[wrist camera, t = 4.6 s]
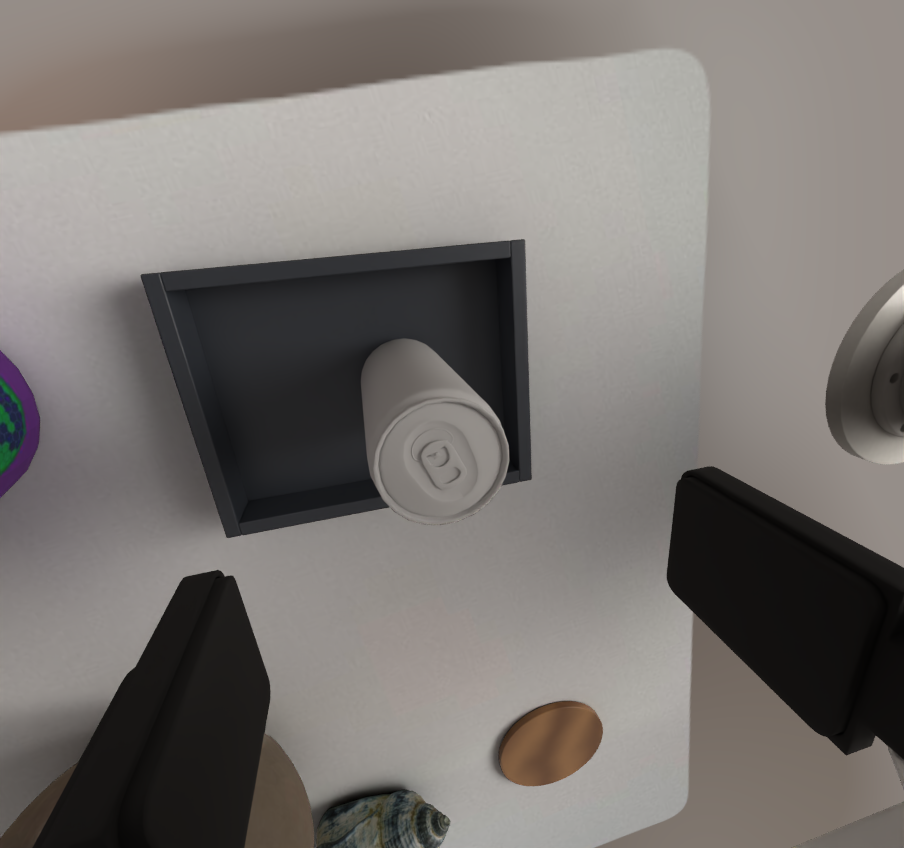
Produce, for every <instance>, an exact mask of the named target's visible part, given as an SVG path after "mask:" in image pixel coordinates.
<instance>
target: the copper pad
mask: <svg viewBox="0 0 904 848" xmlns="http://www.w3.org/2000/svg"><path fill="white" fill-rule="evenodd" d="M602 734H603V728H602V723H601V721H600V719H599V717H598V715H597V714H596V712H595V711H594V710H593V709H592V708H591V707H589V706H587V705H585V704H583V703H579V702H574V701H562V702H556V703H552V704H548V705H545V706H542V707H540V708H538V709H536V710H534V711H532V712H530V713H528V714H527V715H525V716H524V717H523V718H521V719H520V720H519V721H518V722H517V723H515V724H514V725H513V726H512V728H511V729H510V730H509V731H508V732H507V734H506V735H505V737H504V739H503V741H502V743H501V745H500V749H499V763H500V766H501V769H502V772H503V773H504V775H505V776H506V777H507V778H508V779H509V780H511V781H512V782H514V783H516V784H519V785H523V786H541V785H546V784H550V783H554V782H556V781H559V780H561V779H563V778H566V777H567V776H569V775H571V774H573V773H574V772H576V771H577V770H579V769H580V768H581V767H582V766H583V765H585V764H586V763H587V762H588V761H589V760H590V759H591V757H592V756H593V755H594V753H595V752H596V750H597V749H598V747H599V745H600V743H601V739H602Z"/></svg>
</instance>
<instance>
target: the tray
mask: <svg viewBox="0 0 904 848" xmlns="http://www.w3.org/2000/svg"><path fill="white" fill-rule="evenodd" d="M141 279H142V282H143V285H144V288H145V291H146V294H147V297H148V300H149V303H150V306H151V309H152V312H153V315H154V318H155V322H156V325H157V328H158V331H159V334H160V337H161V340H162V343H163V346H164V349H165V352H166V355H167V358H168V361H169V364H170V367H171V370H172V373H173V376H174V379H175V382H176V385H177V388H178V391H179V394H180V397H181V400H182V403H183V406H184V409H185V412H186V416H187V419H188V422H189V425H190V428H191V431H192V434H193V437H194V440H195V443H196V446H197V449H198V452H199V455H200V458H201V461H202V464H203V467H204V470H205V473H206V476H207V479H208V482H209V485H210V488H211V491H212V494H213V497H214V500H215V503H216V507H217V510H218V513H219V516H220V519H221V522H222V525H223V528H224V531H225V534H226V537H227V538H231V537H236V536H241V535H247V534H253V533H258V532H263V531H268V530H273V529H279V528H284V527H289V526H294V525H299V524H304V523H310V522H315V521H320V520H325V519H330V518H336V517H341V516H346V515H351V514H356V513H362V512H367V511H372V510H377V509H382V508H388V507H389V506H388V505H387V504H386V503H385V502H384V500H383V499H382V497H381V495H380V493H379V492H378V490H377V488H376V486H375V484H374V482H373V480H372V478H371V476H370V471H369V465H368V460H367V451H366V439H365V427H364V415H363V404H362V392H361V374H362V369H363V366H364V364H365V361H366V360H367V358H368V357H369V356H370V354H371V353H372V352H373V351H374V350H375V349H376V348H378V347H379V346H380V345H382V344H384V343H386V342H388V341H391V340H395V339H403V338H405V339H412V340H417V341H419V342H421V343H424V344H426V345H427V346H428V347H430V348H431V349H432V350H433V351H435V352H436V353H437V354H438V355H439V356H440V357H441V358H442V359H443V360H444V361H445V362H446V363H447V364H448V365H449V366H450V367H451V368H452V369H453V370H454V371H455V372H456V373H457V374H458V375H459V376H460V377H461V378H462V379H463V380H464V381H465V382H466V383H467V384H468V385H469V386H470V387H471V388H472V389H473V390H474V391H475V392H476V393H477V394H478V395H479V396H480V397H481V398H482V399H483V400H484V401H485V402H486V403H487V404H488V405H489V406H490V408H491V409H492V410H493V412H494V413H495V415H496V416H497V417H498V419H499V420H500V423H501V426H502V428H503V430H504V433H505V436H506V439H507V442H508V445H509V464H508V469H507V473H506V477H505V479H504V481H503V483H502V485H507V484H512V483H517V482H519V481H520V482H522V481H527V480H531V479H532V474H531V439H530V403H529V367H528V331H527V295H526V259H525V240H524V239H521V240H511V241H499V242H488V243H478V244H467V245H456V246H445V247H434V248H423V249H412V250H401V251H390V252H379V253H368V254H357V255H346V256H335V257H324V258H313V259H302V260H291V261H280V262H269V263H259V264H248V265H237V266H226V267H215V268H204V269H193V270H182V271H171V272H161V273H149V274H142V275H141ZM502 485H501V486H502Z"/></svg>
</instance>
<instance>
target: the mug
mask: <svg viewBox="0 0 904 848" xmlns="http://www.w3.org/2000/svg"><path fill="white" fill-rule="evenodd" d="M39 431H40V417H39V413H38V410H37V406H36V402H35V399H34V395H33V393H32V391H31V390H30V388H29V386H28V385H27V383H26V381H25V380H24V378H23V376H22V374H21V373H20V371H19V369H18V368H17V367H16V366H15V365H14V364H13V363H12V362H11V361H10V360H9V359H8V358H7V357H6V356H5V355H4V354H3V353H2V352H1V351H0V498H1V497H2V496H3V495H4V494H5V493H6V492H7V491H8V490H9V489H10V488H11V487H12V486H13V485H14V484H15V483H16V482H17V481H18V479H19V478H20V477H21V476H22V475H23V474H24V473H25V472H26V471H27V470H28V467H29V465H30V463H31V461H32V459H33V457H34V455H35V452H36V450H37V448H38V444H39Z"/></svg>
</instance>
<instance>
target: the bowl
mask: <svg viewBox="0 0 904 848" xmlns="http://www.w3.org/2000/svg"><path fill="white" fill-rule="evenodd" d="M77 764H78V763H77ZM77 764H75V765H74V766H72V767H71V768H70V769H68V770H67V771H66V772H65V773H63V774H62V775H61V776H60V777H58V778H57V779H56V780H55V781H53V782H52V783H51V784H50V785H49V786H48V787H47V788H46V789H45V790H44V791H43V792H42V793H41V794H40V795H39V796H38V797H37V798H36V799H35V800H34V801H33V802H32V803H31V804H30V805H29V806H28V807H27V808H26V809H25V810H24V811H23V812H22V813H21V814H20V816H19V817H18V818H17V819H16V820H15V821H14V822H13V824H12V825H11V826H10V827H9V828H8V829H7V831H6V832H5V833H4V834H3V836H2V837H1V838H0V848H32V847H33V845H34V844H35V842H36V840H37V838H38V836H39V834H40V833H41V831H42V829H43V827H44V825H45V823H46V821H47V820H48V818H49V816H50V814H51V812H52V810H53V808H54V807H55V805H56V803H57V801H58V799H59V797H60V796H61V794H62V792H63V790H64V788H65V786H66V784H67V783H68V781H69V779H70V777H71V775H72V773H73V771H74V770H75V768H76V766H77ZM244 848H314V826H313V820H312V813H311V807H310V803H309V800H308V797H307V794H306V790H305V787H304V784H303V782H302V780H301V778H300V776H299V774H298V772H297V770H296V769H295V767H294V765H293V763H292V762H291V760H290V759H289V757H288V756H287V755H286V753H285V752H284V751H283V749H282V748H281V747H280V745H279V744H278V743H277V742H276V741H275V740H274V739H273V738H272V737H270V736H269V735H267V734H265V733H264V738H263V744H262V749H261V755H260V761H259V767H258V772H257V778H256V784H255V790H254V795H253V801H252V807H251V813H250V818H249V824H248V830H247V836H246V841H245V847H244Z"/></svg>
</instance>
